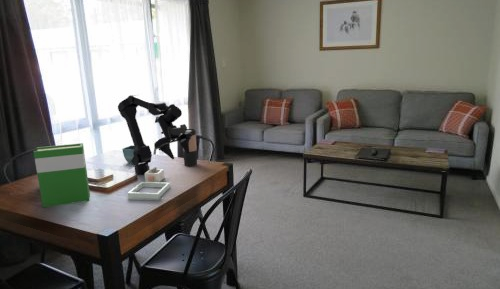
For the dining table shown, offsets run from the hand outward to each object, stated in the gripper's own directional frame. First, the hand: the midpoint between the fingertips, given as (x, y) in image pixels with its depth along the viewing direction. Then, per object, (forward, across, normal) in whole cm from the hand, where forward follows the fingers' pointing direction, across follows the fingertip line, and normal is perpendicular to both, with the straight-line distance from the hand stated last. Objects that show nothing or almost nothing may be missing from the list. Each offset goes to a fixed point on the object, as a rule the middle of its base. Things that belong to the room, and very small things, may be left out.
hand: (181, 156), depth 165 cm
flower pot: (-16, +11, +55) cm, 58 cm away
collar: (+3, -3, +22) cm, 22 cm away
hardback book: (-3, -41, +32) cm, 52 cm away
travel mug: (0, +27, +28) cm, 39 cm away
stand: (+4, -4, +21) cm, 22 cm away
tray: (+9, -15, +13) cm, 22 cm away
